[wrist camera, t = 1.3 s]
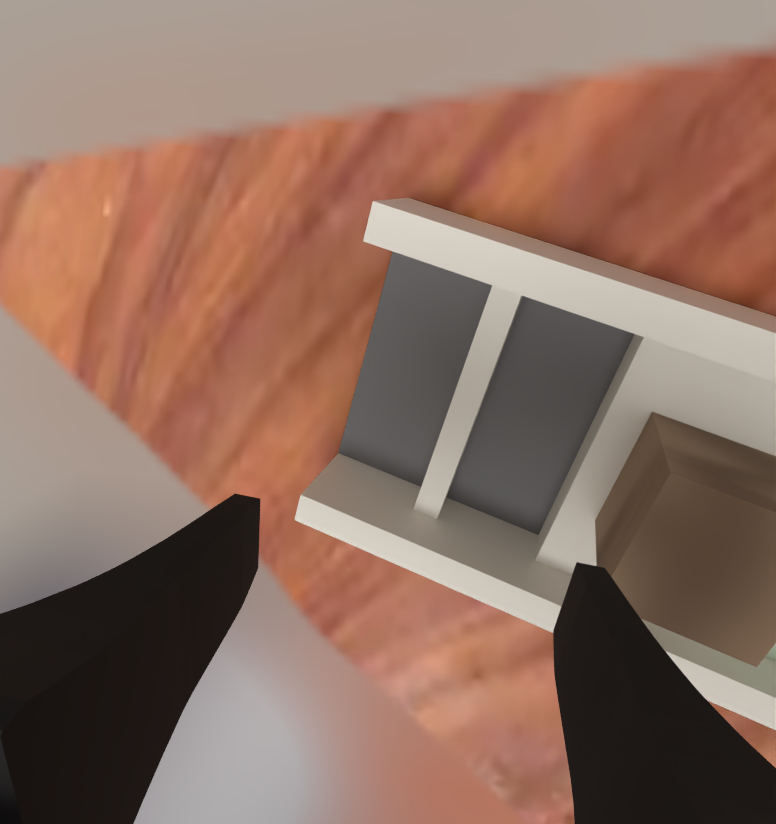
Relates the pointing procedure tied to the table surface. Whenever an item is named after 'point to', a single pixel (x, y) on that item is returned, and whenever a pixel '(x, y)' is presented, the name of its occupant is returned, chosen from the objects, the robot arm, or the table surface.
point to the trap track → (531, 416)
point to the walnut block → (695, 537)
